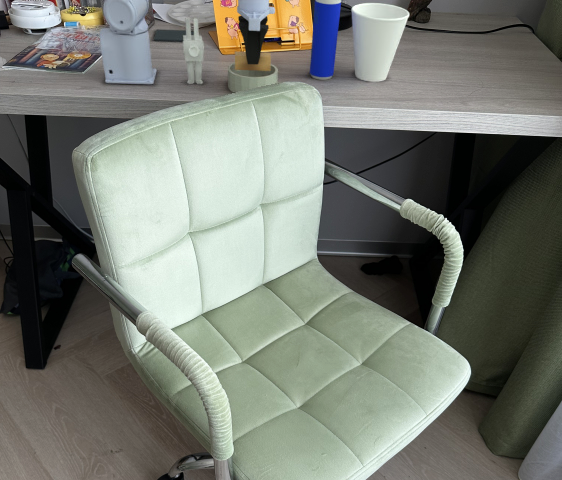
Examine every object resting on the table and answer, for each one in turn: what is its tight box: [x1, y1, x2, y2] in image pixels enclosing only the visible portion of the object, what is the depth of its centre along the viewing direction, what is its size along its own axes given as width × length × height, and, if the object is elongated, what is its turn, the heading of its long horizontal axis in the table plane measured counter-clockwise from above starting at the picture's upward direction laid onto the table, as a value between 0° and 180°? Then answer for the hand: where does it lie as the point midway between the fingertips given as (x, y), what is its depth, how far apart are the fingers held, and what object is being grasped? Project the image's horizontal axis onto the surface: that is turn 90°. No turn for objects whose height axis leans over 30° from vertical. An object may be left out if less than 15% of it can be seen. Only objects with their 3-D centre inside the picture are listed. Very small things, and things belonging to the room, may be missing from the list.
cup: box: [350, 2, 410, 83], centre depth 121 cm, size 12×12×12 cm
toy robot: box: [182, 17, 205, 85], centre depth 113 cm, size 4×8×12 cm, turn 9°
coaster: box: [153, 28, 194, 43], centre depth 138 cm, size 9×8×1 cm
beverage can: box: [309, 0, 342, 81], centre depth 118 cm, size 5×5×15 cm
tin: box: [227, 62, 279, 93], centre depth 116 cm, size 10×10×4 cm
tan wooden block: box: [234, 50, 272, 71], centre depth 114 cm, size 7×3×3 cm, turn 93°
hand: (252, 61), depth 114 cm, fingers closed on tan wooden block, 2 cm apart
